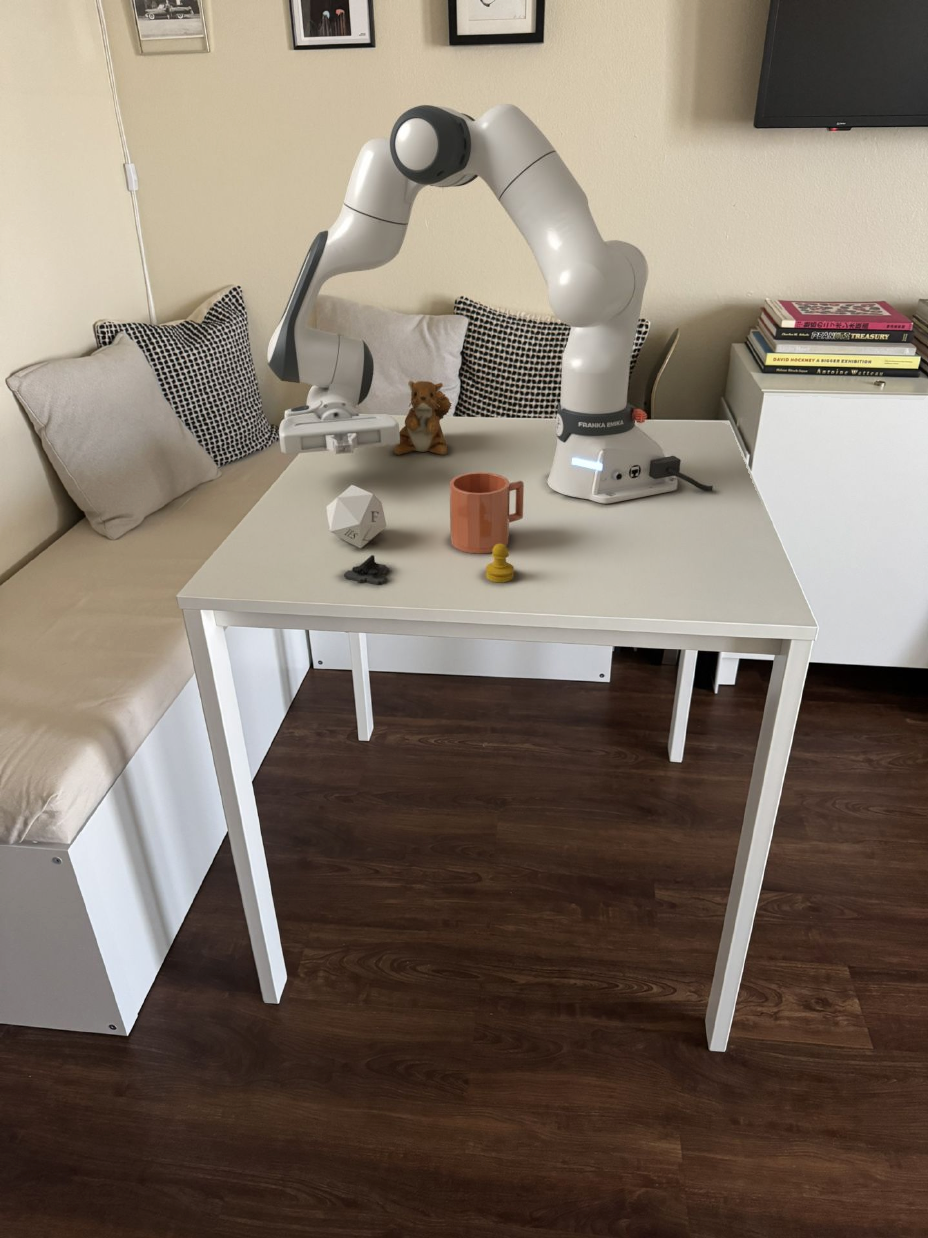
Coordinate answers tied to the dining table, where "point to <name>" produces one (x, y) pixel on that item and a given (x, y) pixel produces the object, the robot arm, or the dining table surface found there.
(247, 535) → the dining table surface
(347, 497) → the die
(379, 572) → the block figure
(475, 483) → the mug
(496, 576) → the chess piece
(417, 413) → the stuffed squirrel
